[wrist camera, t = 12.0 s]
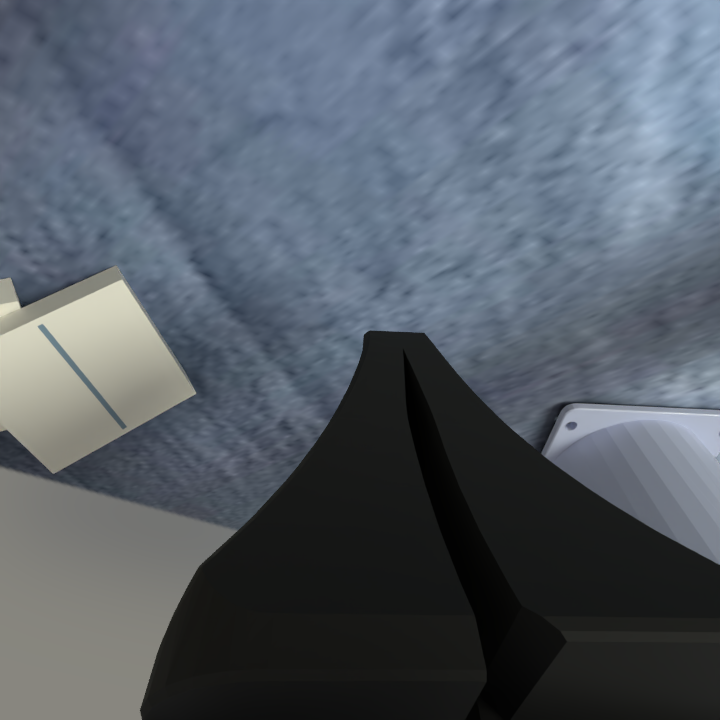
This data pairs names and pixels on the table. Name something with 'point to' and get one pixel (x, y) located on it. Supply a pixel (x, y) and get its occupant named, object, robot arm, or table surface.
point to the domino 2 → (84, 370)
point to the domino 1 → (8, 304)
